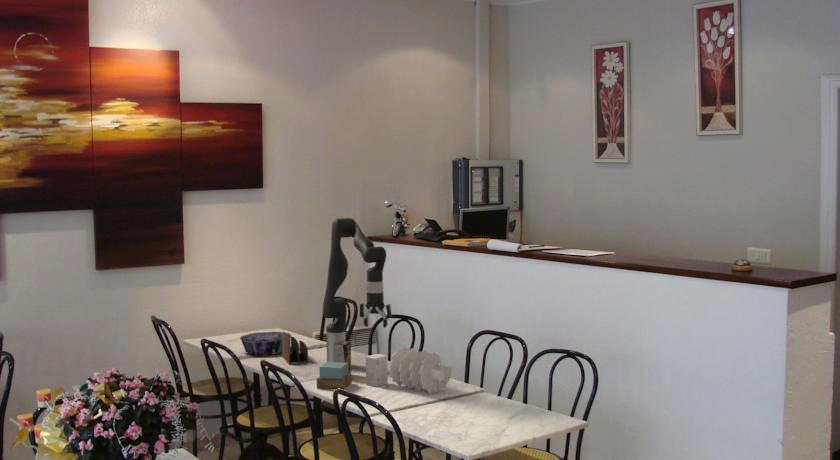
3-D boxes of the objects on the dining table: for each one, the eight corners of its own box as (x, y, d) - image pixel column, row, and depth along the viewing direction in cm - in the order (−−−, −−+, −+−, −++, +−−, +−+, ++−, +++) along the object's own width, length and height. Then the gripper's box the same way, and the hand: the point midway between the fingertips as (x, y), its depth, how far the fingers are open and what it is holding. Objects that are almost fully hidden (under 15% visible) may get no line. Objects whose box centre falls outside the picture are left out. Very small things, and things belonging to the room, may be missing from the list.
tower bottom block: (326, 382, 390) (326, 371, 390) (351, 384, 387) (351, 373, 387) (316, 389, 379) (316, 378, 378) (342, 391, 376) (342, 379, 375)
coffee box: (346, 379, 395) (345, 344, 393) (333, 378, 396) (332, 344, 395) (351, 374, 404) (351, 340, 402) (338, 373, 405) (338, 340, 404)
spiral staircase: (433, 405, 365) (391, 392, 382) (458, 380, 376) (415, 368, 393) (422, 371, 358) (379, 359, 374) (447, 347, 369) (405, 336, 385)
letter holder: (288, 365, 424) (288, 337, 422) (281, 356, 442) (281, 329, 441) (308, 363, 427) (308, 335, 426) (300, 355, 446) (300, 328, 444)
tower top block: (327, 372, 389) (327, 361, 388) (348, 373, 386) (348, 362, 386) (319, 377, 379) (319, 366, 379) (340, 379, 377) (340, 368, 376)
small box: (377, 381, 390) (377, 353, 389) (388, 383, 386) (387, 355, 385) (365, 385, 384) (365, 356, 383) (375, 387, 380) (375, 358, 379)
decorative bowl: (236, 352, 461) (234, 334, 460) (286, 343, 472) (284, 326, 471) (247, 362, 438) (245, 343, 437) (299, 352, 449) (297, 334, 448)
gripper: (392, 290, 383) (393, 326, 385) (362, 289, 387) (363, 324, 388) (387, 292, 376) (388, 329, 377) (357, 292, 380) (357, 327, 381)
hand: (375, 326), depth 383 cm, fingers open, 8 cm apart
